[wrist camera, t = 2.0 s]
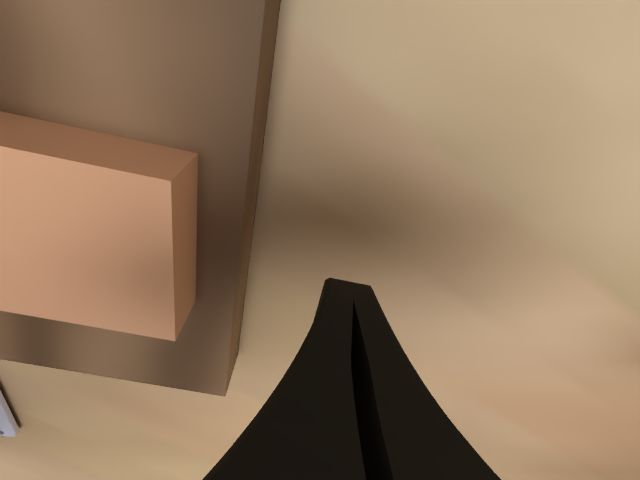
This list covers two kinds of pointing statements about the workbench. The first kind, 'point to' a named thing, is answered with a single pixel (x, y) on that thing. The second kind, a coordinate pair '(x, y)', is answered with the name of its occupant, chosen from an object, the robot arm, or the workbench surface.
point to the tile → (96, 228)
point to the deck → (157, 128)
